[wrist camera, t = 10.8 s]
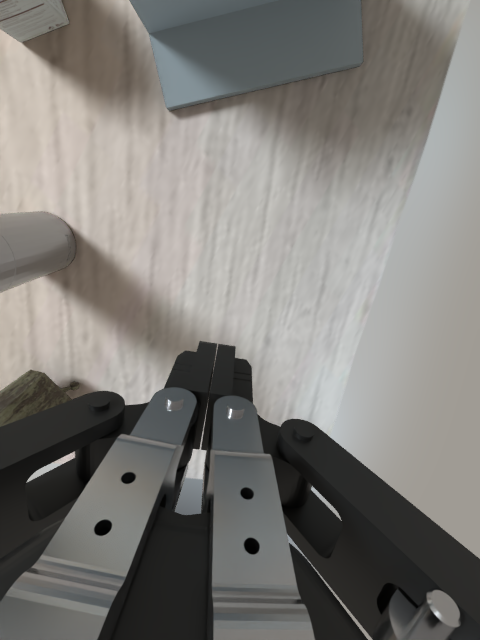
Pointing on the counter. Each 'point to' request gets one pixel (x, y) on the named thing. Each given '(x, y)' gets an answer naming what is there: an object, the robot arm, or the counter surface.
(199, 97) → the bookend
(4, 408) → the tabletop clock
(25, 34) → the supplement box
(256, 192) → the counter surface
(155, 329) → the counter surface
